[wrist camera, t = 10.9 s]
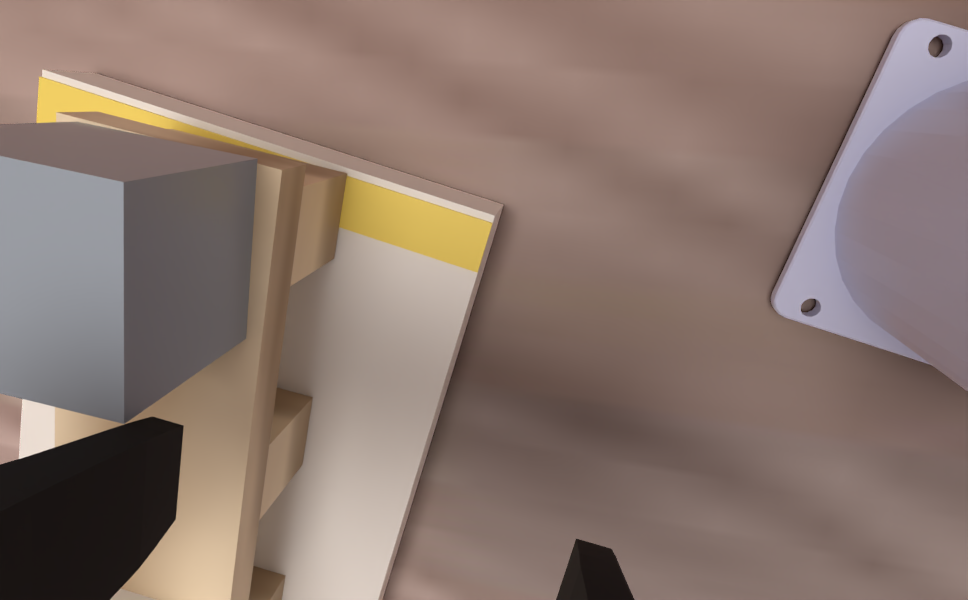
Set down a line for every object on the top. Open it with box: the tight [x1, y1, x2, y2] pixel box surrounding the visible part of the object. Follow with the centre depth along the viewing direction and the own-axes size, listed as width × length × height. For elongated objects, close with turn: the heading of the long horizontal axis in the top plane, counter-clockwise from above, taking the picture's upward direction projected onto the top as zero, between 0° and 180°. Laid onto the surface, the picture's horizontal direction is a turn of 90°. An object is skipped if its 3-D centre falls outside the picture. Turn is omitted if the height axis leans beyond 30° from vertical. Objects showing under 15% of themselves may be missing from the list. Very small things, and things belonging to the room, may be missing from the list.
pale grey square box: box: [0, 121, 257, 424], centre depth 12 cm, size 4×4×4 cm
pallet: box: [55, 111, 347, 600], centre depth 18 cm, size 5×17×4 cm, turn 167°
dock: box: [19, 69, 504, 600], centre depth 21 cm, size 13×17×2 cm
